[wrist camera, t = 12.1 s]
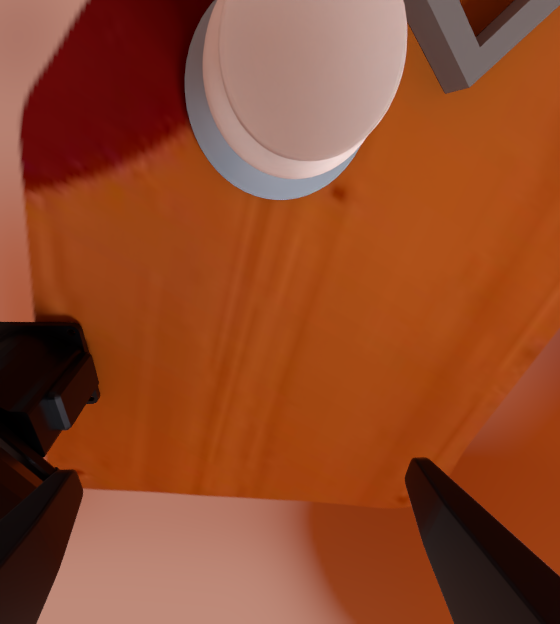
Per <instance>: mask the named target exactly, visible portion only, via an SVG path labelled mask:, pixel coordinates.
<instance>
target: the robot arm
mask: <svg viewBox="0 0 560 624" xmlns="http://www.w3.org/2000/svg"><path fill="white" fill-rule="evenodd" d="M70 329H72V330H74V331H75V333H74V332H72V331H71V330H70ZM98 384H99V381H98V378H97V374H96V370H95V366H94V363H93V359H92V356H91V354H90V353H89V352H88V348H87V344H86V341H85V337H84V333H83V330H82V328H81V326H80V325H79V324H76V323H70V322H0V624H36V623H37V620H38V618H39V616H40V614H41V611H42V609H43V606H44V604H45V602H46V599H47V597H48V595H49V592H50V590H51V588H52V585H53V583H54V581H55V578H56V576H57V573H58V571H59V568H60V565H61V562H62V560H63V556H64V553H65V550H66V547H67V544H68V541H69V538H70V534H71V532H72V529H73V525H74V522H75V519H76V516H77V513H78V510H79V506H80V503H81V500H82V496H83V488H82V485H81V483H80V480H79V477H78V475H77V472H76V471H75V470H60V469H58V468H57V467H55V468H54V467H53V466H52V465H51V464H49V463H48V462H47V461H46V460H45V459H44V458H43V457H45V455H46V454H47V452H48V451H49V449H50V448H51V446H52V445H53V443H54V442H55V440H56V439H57V437H58V436H59V434H60V433H61V431H62V430H68V429H69V428H70V427H72V425H73V424H74V422H75V421H76V419H77V417H78V416H79V414H80V413H81V411H82V409H83V408H84V406H85V405H86V404H94V403H96V402H97V401H98V399H99V398H100V392H99V388H98ZM91 396H92V397H91ZM405 484H406V488H407V491H408V494H409V498H410V501H411V505H412V508H413V512H414V515H415V518H416V522H417V525H418V528H419V532H420V535H421V539H422V541H423V545H424V547H425V550H426V553H427V556H428V558H429V560H430V563H431V566H432V568H433V571H434V573H435V576H436V578H437V581H438V584H439V586H440V588H441V591H442V594H443V596H444V599H445V601H446V604H447V606H448V609H449V611H450V614H451V616H452V619H453V621H454V624H560V576H559V575H558V574H556V573H555V572H554V571H553V570H552V569H551V568H550V567H549V566H547V565H546V564H545V563H544V562H543V561H542V560H541V559H540V558H539V557H537V556H536V555H535V554H534V553H533V552H532V551H531V550H530V549H529V548H527V547H526V546H525V545H524V544H523V543H522V542H521V541H520V540H519V539H517V538H516V537H515V536H514V535H513V534H512V533H511V532H510V531H508V530H507V529H506V528H505V527H504V526H503V525H502V524H501V523H500V522H499V521H497V520H496V519H495V518H494V517H493V516H492V515H491V514H490V513H489V512H487V511H486V510H485V509H484V508H483V507H482V506H481V505H480V504H479V503H477V502H476V501H475V500H474V499H473V498H472V497H471V496H470V495H469V494H467V493H466V492H465V491H464V490H463V489H462V488H461V487H460V486H458V485H457V484H456V483H455V482H454V481H453V480H452V479H451V478H450V477H449V476H447V475H446V474H445V473H444V472H443V471H442V470H441V469H440V468H439V467H437V466H436V465H435V464H434V463H433V462H432V461H431V460H429V459H428V458H425V457H421V458H413V459H412V460H411V462H410V464H409V467H408V470H407V472H406V475H405Z"/></svg>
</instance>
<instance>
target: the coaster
mask: <svg viewBox="0 0 560 624" xmlns="http://www.w3.org/2000/svg"><path fill="white" fill-rule="evenodd" d="M216 2H217V0H214V1H213V2H212V4H211V5H210V6H209V8H208V9H207V11H206V12H205V14H204V15H203V16H202V18H201V20H200V22H199V24H198V26H197V28H196V30H195V33H194V35H193V38H192V41H191V44H190V47H189V52H188V56H187V61H186V70H185V98H186V106H187V111H188V115H189V120H190V124H191V126H192V129H193V132H194V135H195V137H196V139H197V141H198V143H199V145H200V147H201V149H202V151H203V152H204V154H205V156H206V157H207V159H208V160H209V162H210V163H211V164H212V165H213V166H214V168H215V169H216V170H217V171H218V172H219V173H220V174H221V175H222V176H223V177H224V178H225V179H226V180H228V181H229V182H230V183H232V184H233V185H234V186H236V187H238V188H239V189H241V190H243V191H245V192H247V193H250V194H252V195H254V196H258V197H262V198H266V199H274V200H288V199H294V198H299V197H303V196H306V195H309V194H311V193H313V192H316V191H318V190H320V189H321V188H323V187H324V186H326V185H328V184H329V183H330V182H331V181H333V180H334V179H335V178H336V177H338V176H339V175H340V173H341V172H342V171H343V170H344V169H345V168H346V167H347V166H348V164H349V163H350V162H351V160H352V159H353V158H354V156H355V154H356V153H357V151H358V149H359V148H360V146H361V145H360V146H359V148H358V149H357V150H356V151H355V152H354V153H353V154H352V155H351V156H350V157H349V158H347V159H346V160H345V161H344V162H343V163H341V164H340V165H338V166H337V167H335V168H333V169H331V170H330V171H328V172H325V173H323V174H320V175H317V176H314V177H310V178H304V179H285V178H279V177H275V176H272V175H268V174H266V173H264V172H261V171H259V170H258V169H256V168H254V167H253V166H251V165H249V164H248V163H247V162H245V161H244V160H242V158H241V157H240V156H239V155H237V154H236V153H235V152H234V150H233V149H232V148H231V147H230V146H229V144H228V143H227V142H226V140H225V139H224V137H223V136H222V134H221V133H220V131H219V129H218V127H217V125H216V123H215V121H214V119H213V117H212V114H211V111H210V108H209V105H208V102H207V98H206V94H205V88H204V81H203V50H204V43H205V36H206V32H207V27H208V23H209V20H210V17H211V14H212V11H213V8H214V6H215V4H216Z"/></svg>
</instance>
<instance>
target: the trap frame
mask: <svg viewBox="0 0 560 624" xmlns="http://www.w3.org/2000/svg"><path fill="white" fill-rule="evenodd" d="M403 1H404V5H405V12H406V18H407V21H408V23H409V25H410V27H411V29H412V31H413V33H414V35H415V37H416V39H417V40H418V42H419V44H420V46H421V48H422V50H423V52H424V54H425V56H426V58H427V60H428V62H429V63H430V65H431V67H432V69H433V71H434V73H435V75H436V77H437V79H438V81H439V83H440V85H441V87H442V88H443V90H444V92H445V94H446V93H450V92H454V91H458V90H461V89H465V88H469V87H470V86H472V85H473V84H474V83H475V82H476V81H477V80H478V79H479V78H480V77H481V76H482V75H484V74H485V73H486V72H487V71H488V70H489V69H490V68H491V67H492V66H493V65H495V64H496V63H497V62H498V61H499V60H500V59H501V58H502V57H503V56H504V55H505V54H507V53H508V52H509V51H510V50H511V49H512V48H513V47H514V46H515V45H516V44H517V43H519V42H520V41H521V40H522V39H523V38H524V37H525V36H526V35H527V34H528V33H530V32H531V31H532V30H533V29H534V28H535V27H536V26H537V25H538V24H539V23H540V22H542V21H543V20H544V19H545V18H546V17H547V16H548V15H549V14H550V13H551V12H552V11H554V10H555V9H556V8H557V7H558V6H559V5H560V0H514V1H513V2H512V3H511V4H510V5H509V6H508V7H507V8H506V9H505V10H504V11H503V12H502V13H501V14H500V15H499V16H498V17H497V18H495V19H494V20H493V21H492V22H491V23H490V24H489V25H488V26H487V27H486V28H485V29H484V30H483V31H482V32H481V33H480V34H479V35H478V36H477V37H475V35H474V33H473V31H472V28H471V26H470V24H469V22H468V19H467V17H466V15H465V13H464V10H463V8H462V6H461V4H460V1H459V0H403Z"/></svg>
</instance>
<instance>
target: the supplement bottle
mask: <svg viewBox="0 0 560 624" xmlns="http://www.w3.org/2000/svg"><path fill="white" fill-rule="evenodd" d="M406 48H407V18H406V12H405V5H404V1H403V0H217V2H216V4H215V6H214V8H213V11H212V14H211V17H210V20H209V23H208V27H207V32H206V36H205V43H204V50H203V81H204V88H205V94H206V98H207V102H208V105H209V108H210V111H211V114H212V117H213V119H214V121H215V123H216V125H217V127H218V129H219V131H220V133H221V134H222V136H223V137H224V139H225V140H226V142H227V143H228V144H229V146H230V147H231V148H232V149H233V150H234V152H235V153H236V154H237V155H239V156H240V157H241V158H242V160H244V161H245V162H247V163H248V164H249V165H251V166H253V167H254V168H256V169H258V170H259V171H261V172H264V173H266V174H268V175H272V176H275V177H279V178H285V179H304V178H310V177H314V176H317V175H320V174H323V173H325V172H328V171H330V170H331V169H333V168H335V167H337V166H338V165H340V164H341V163H343V162H344V161H345V160H346V159H347V158H349V157H350V156H351V155H352V154H353V153H354V152H355V151H356V150H357V149H358V148H359V146H360V145H361V144H362V143H363V141H364V140H365V139H366V137H367V136H368V135H369V134H370V133H371V132H372V130H373V129H374V128H375V127H376V126H377V125H378V123H379V122H380V121H381V119H382V118H383V116H384V115H385V113H386V112H387V110H388V108H389V106H390V104H391V102H392V100H393V98H394V96H395V94H396V91H397V89H398V86H399V83H400V80H401V77H402V73H403V69H404V64H405V58H406Z"/></svg>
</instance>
